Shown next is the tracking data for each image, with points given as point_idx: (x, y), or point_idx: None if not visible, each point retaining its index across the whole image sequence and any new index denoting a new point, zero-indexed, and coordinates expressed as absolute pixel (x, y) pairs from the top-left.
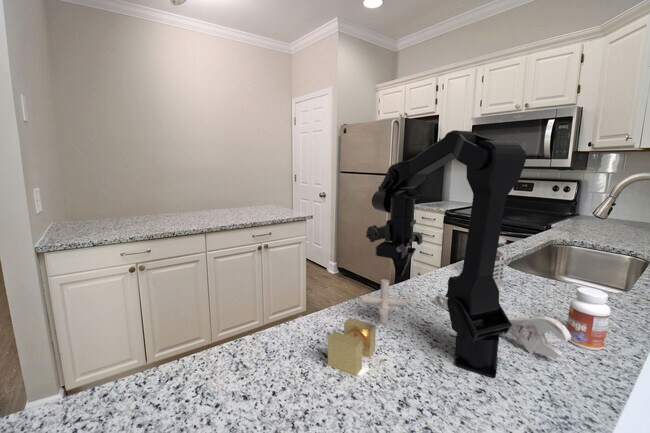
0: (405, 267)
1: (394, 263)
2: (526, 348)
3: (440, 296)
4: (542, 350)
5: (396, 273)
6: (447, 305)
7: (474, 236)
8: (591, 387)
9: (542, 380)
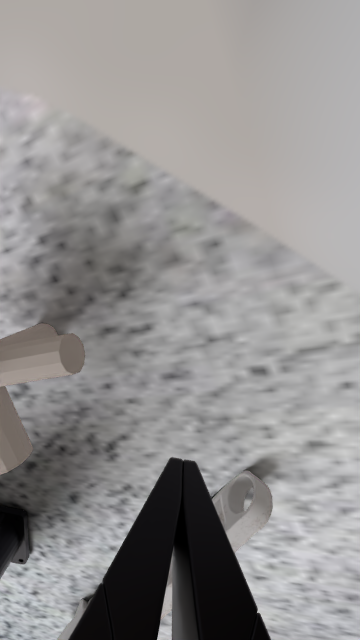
0: (172, 619)
1: (84, 621)
2: (82, 607)
3: (242, 518)
4: (64, 636)
5: (162, 474)
6: (219, 511)
7: None
8: (33, 634)
9: (10, 594)
